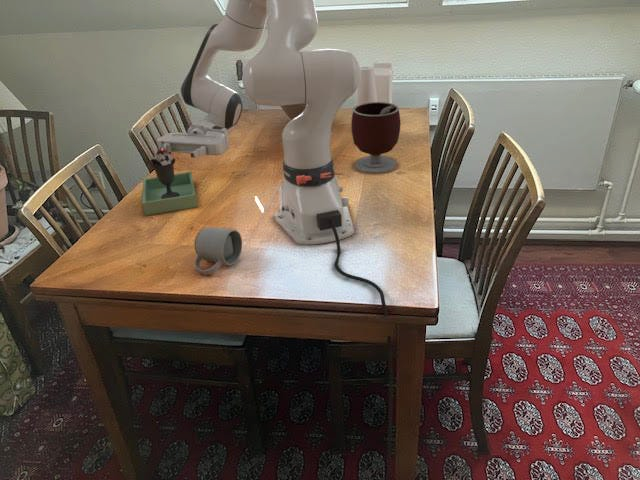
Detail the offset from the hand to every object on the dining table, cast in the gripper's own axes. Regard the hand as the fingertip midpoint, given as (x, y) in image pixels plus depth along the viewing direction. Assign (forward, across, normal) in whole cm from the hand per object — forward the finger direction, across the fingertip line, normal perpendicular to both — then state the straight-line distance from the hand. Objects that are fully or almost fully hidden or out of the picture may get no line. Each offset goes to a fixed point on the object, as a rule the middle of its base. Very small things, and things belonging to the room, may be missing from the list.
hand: (177, 153), depth 145 cm
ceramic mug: (+34, +29, +10) cm, 46 cm away
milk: (-60, +44, +10) cm, 75 cm away
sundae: (+7, 0, +10) cm, 12 cm away
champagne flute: (-44, +42, +10) cm, 62 cm away
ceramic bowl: (-63, +15, +10) cm, 66 cm away
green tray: (+7, 0, +10) cm, 12 cm away
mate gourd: (-25, +50, +10) cm, 57 cm away
